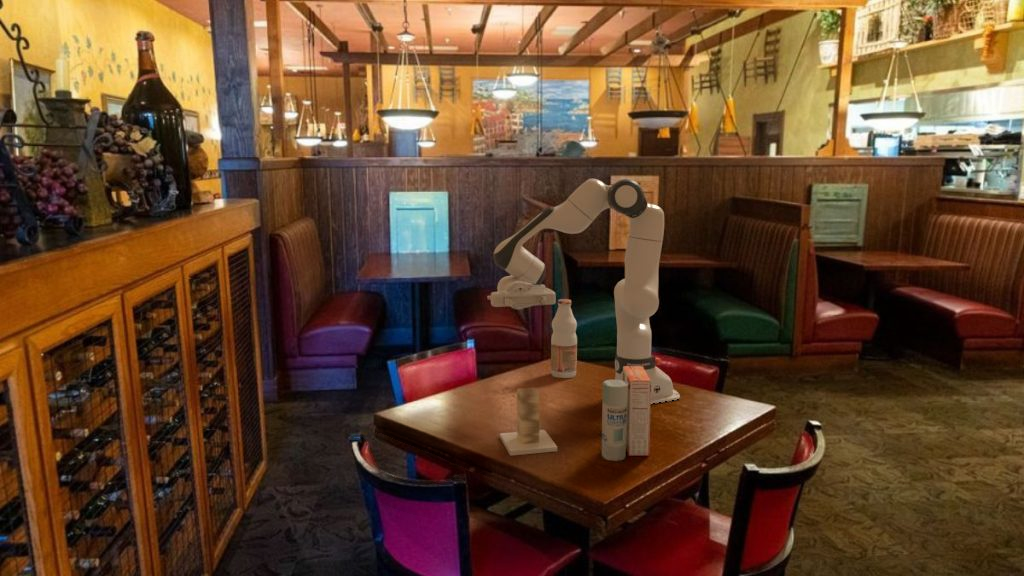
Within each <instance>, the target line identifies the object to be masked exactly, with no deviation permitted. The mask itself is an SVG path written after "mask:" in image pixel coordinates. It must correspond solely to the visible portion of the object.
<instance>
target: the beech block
mask: <svg viewBox="0 0 1024 576" xmlns="http://www.w3.org/2000/svg"><path fill="white" fill-rule="evenodd" d="M536 388H537V387H528V388H527V387H526V388H525V387H523V388H517V389H516V390H517V391H516V394H517V395H516V411H517V412H516V432H517V438H518V440H519V441H520V443H521V444H529V443H539V430H540V392H539V391H538V390H537V389H536Z"/></svg>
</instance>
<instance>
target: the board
mask: <svg viewBox="0 0 1024 576" xmlns="http://www.w3.org/2000/svg"><path fill="white" fill-rule="evenodd" d="M499 438H500V441H501V442H502V444H503V445H504V447H505V449H506V450H507V451H506V452H508V454H509V456H520V455H529V454H542V453H551V452H558V445H557V444H556V443H555V441H553V439H552V438H551V437H550V435H549V434H548V432H547V431H546V430H545V429H539V443H529V444H521V443H520V441H519V440H518V438H517V431H512V432H502V433H499Z"/></svg>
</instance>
